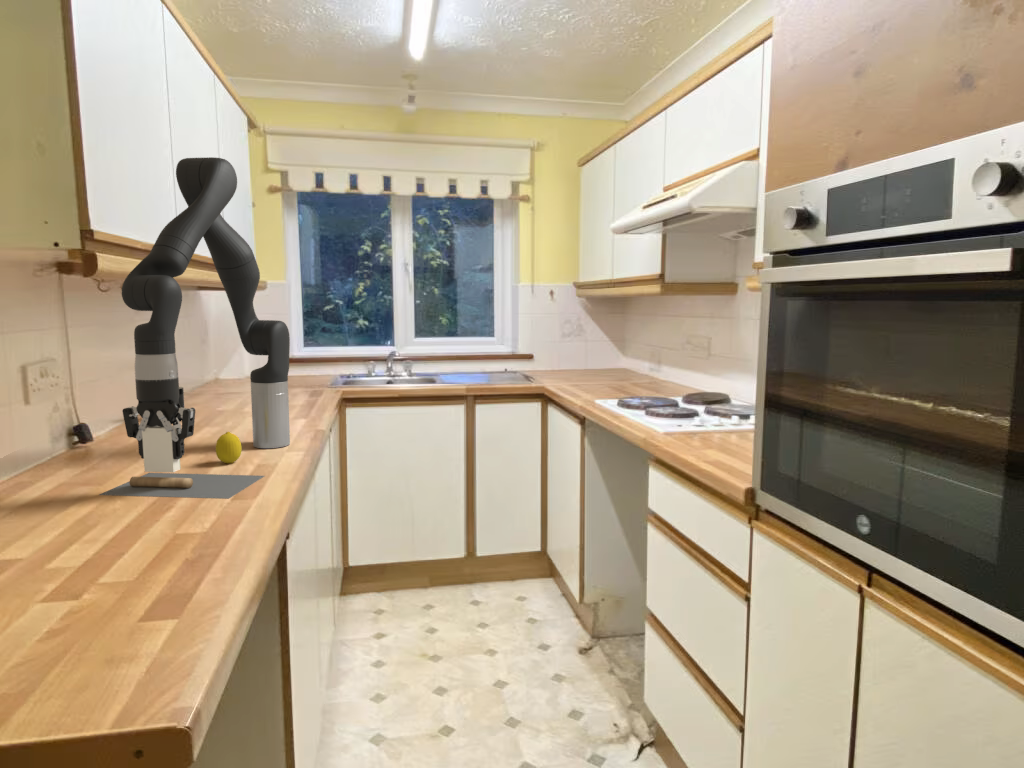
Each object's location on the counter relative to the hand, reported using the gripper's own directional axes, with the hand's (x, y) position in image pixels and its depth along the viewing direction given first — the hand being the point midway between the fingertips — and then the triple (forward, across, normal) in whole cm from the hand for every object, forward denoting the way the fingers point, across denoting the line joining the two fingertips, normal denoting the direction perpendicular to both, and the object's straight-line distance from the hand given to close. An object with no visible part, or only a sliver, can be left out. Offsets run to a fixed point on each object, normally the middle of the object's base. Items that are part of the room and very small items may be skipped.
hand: (161, 457), depth 128 cm
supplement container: (+7, +40, -70) cm, 81 cm away
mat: (+6, -4, -1) cm, 8 cm away
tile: (+3, 0, 0) cm, 3 cm away
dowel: (+6, 0, +1) cm, 7 cm away
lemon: (+7, -4, -19) cm, 21 cm away
